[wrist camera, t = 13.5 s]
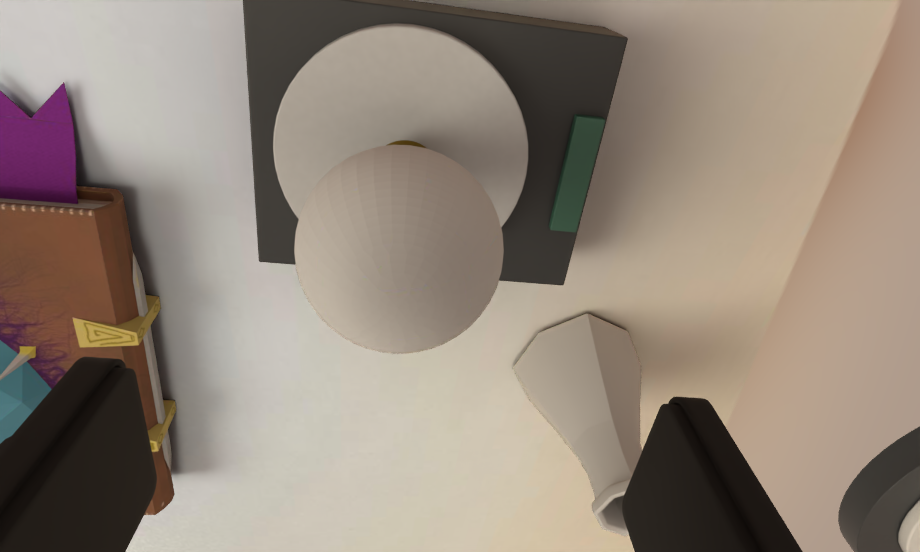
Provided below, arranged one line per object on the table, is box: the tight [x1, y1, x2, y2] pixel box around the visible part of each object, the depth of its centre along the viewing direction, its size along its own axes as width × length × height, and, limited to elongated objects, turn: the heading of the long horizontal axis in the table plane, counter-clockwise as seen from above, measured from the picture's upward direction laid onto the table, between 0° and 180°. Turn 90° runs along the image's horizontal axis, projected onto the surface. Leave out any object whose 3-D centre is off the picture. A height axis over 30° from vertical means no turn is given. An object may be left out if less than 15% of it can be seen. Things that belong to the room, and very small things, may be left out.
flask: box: [512, 313, 642, 536], centre depth 29 cm, size 7×7×10 cm
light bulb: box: [294, 140, 504, 353], centre depth 18 cm, size 6×6×10 cm
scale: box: [243, 0, 628, 285], centre depth 24 cm, size 14×11×4 cm
